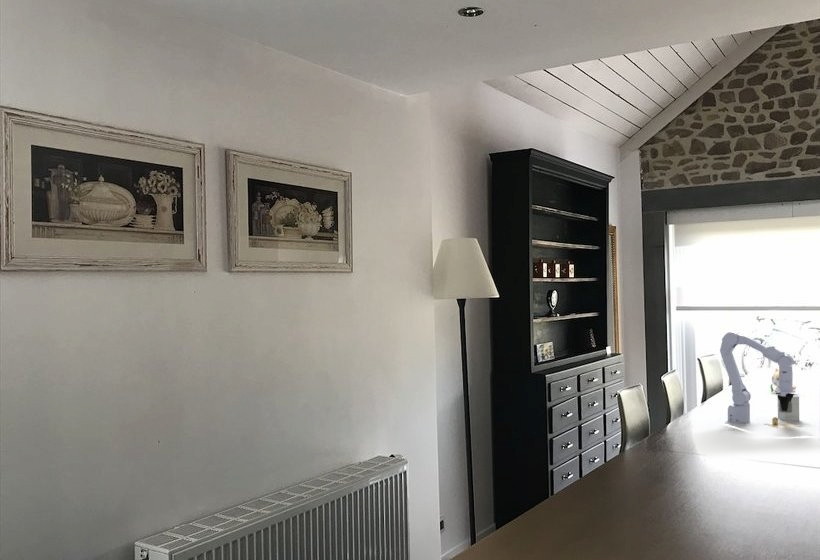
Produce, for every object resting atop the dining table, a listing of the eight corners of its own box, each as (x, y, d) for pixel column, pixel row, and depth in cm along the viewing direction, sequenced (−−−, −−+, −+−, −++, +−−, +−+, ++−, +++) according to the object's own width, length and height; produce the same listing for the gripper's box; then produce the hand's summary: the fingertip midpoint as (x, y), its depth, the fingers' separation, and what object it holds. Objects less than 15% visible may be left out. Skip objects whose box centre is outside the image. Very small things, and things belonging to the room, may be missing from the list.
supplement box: (799, 422, 366) (799, 396, 366) (784, 422, 366) (784, 396, 366) (792, 419, 374) (792, 394, 374) (777, 419, 374) (777, 394, 374)
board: (776, 430, 348) (776, 427, 348) (763, 426, 358) (763, 423, 358) (802, 429, 351) (802, 426, 351) (788, 424, 361) (788, 422, 361)
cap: (784, 412, 351) (784, 403, 351) (777, 410, 356) (777, 401, 356) (794, 412, 352) (794, 402, 352) (787, 410, 357) (787, 400, 357)
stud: (774, 425, 355) (774, 417, 355) (771, 424, 358) (771, 416, 358) (779, 424, 356) (779, 417, 356) (775, 423, 358) (775, 416, 358)
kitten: (764, 392, 466) (764, 367, 466) (778, 391, 469) (777, 366, 469) (783, 395, 452) (783, 370, 452) (797, 394, 455) (796, 369, 455)
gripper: (792, 383, 346) (792, 413, 346) (797, 379, 358) (797, 408, 358) (775, 381, 350) (775, 411, 350) (781, 378, 362) (781, 407, 362)
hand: (785, 409), depth 354 cm, fingers closed on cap, 5 cm apart
